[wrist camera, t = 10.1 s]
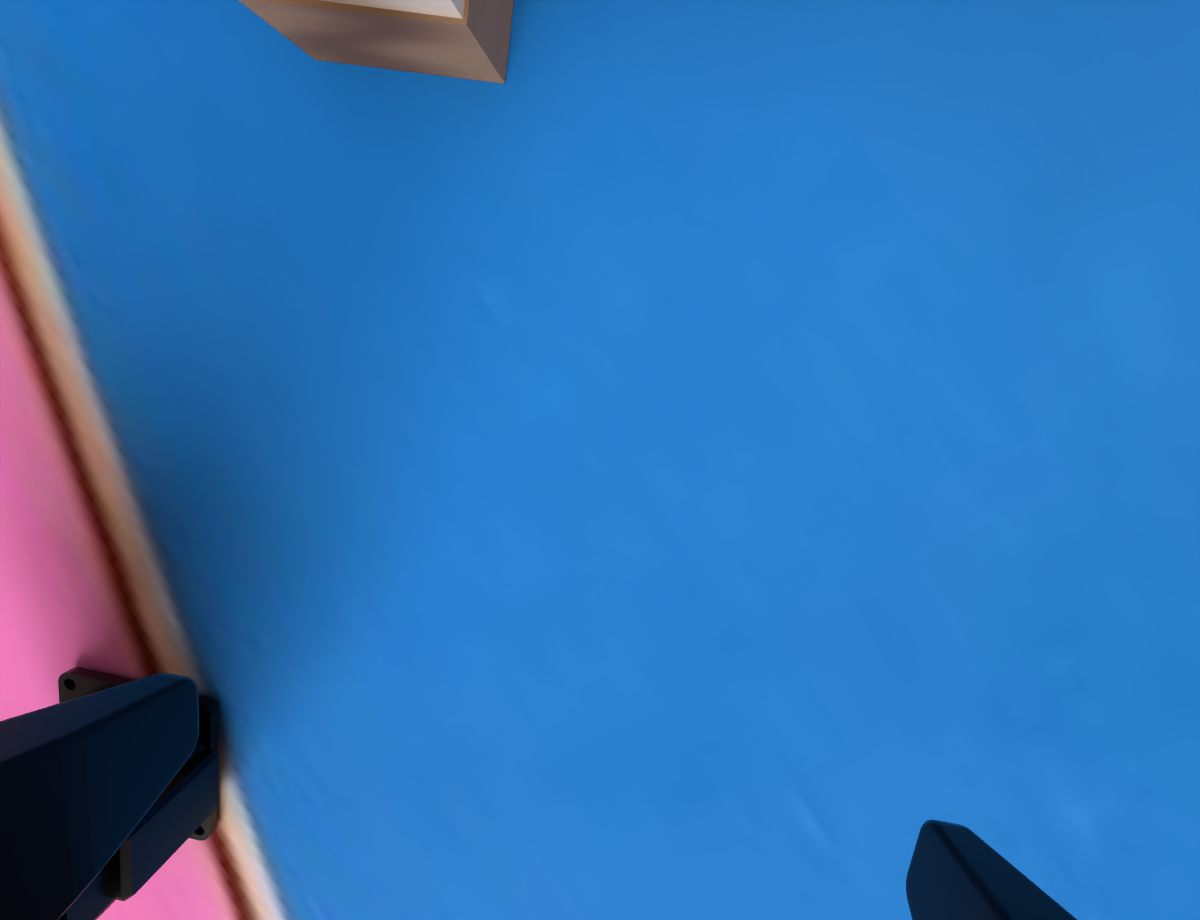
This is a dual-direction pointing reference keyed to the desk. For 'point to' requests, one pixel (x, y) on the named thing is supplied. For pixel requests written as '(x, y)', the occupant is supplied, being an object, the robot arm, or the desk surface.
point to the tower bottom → (398, 36)
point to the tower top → (414, 6)
